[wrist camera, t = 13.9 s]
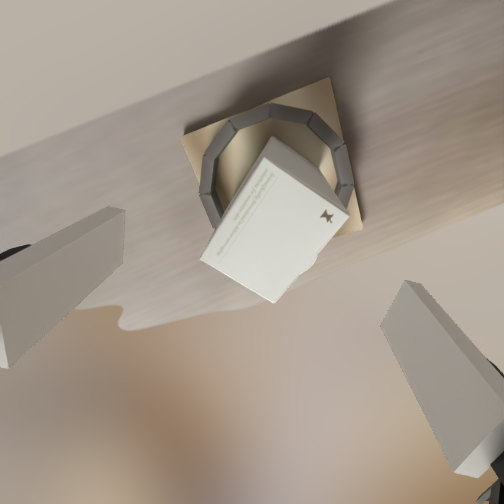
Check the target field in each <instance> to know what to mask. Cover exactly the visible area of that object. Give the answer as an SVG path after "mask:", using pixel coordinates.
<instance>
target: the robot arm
mask: <svg viewBox="0 0 504 504" xmlns="http://www.w3.org/2000/svg"><path fill="white" fill-rule="evenodd" d="M124 229H125V210H123V209H119V208H115V207H110V206H108V207H106V208H104V209H102V210H100V211H98V212H96V213H94V214H92V215H90V216H88V217H86V218H84V219H82V220H80V221H78V222H76V223H74V224H72V225H70V226H69V227H67V228H65V229H63V230H61V231H59V232H57V233H55V234H53V235H51V236H49V237H47V238H45V239H43V240H41V241H39V242H37V243H35V244H33V245H30V244H28V245H24V246H20V247H16V248H12V249H9V250H7V251H5V252H3V253H1V254H0V367H2V368H6V369H9V368H10V367H11V366H12V365H14V364H15V363H16V362H17V361H18V360H19V359H20V358H21V357H22V356H23V355H24V354H25V353H26V352H27V351H29V349H31V348H32V347H33V346H34V345H35V344H36V343H37V342H38V341H39V340H40V339H42V338H43V337H44V336H45V335H46V334H47V333H48V332H49V331H50V330H51V329H52V328H53V327H54V326H55V325H57V324H58V323H59V322H60V321H61V320H62V319H63V318H64V317H65V316H66V315H67V314H69V312H71V311H72V310H73V309H74V308H75V307H76V306H77V305H78V304H79V303H80V302H81V301H83V300H84V299H85V298H86V297H87V296H88V295H89V294H90V293H91V292H92V291H93V290H94V289H95V288H97V287H98V286H99V285H100V284H101V283H102V282H103V281H104V280H105V279H106V278H107V277H108V276H109V275H111V274H112V273H113V272H114V271H115V270H116V269H117V268H118V267H119V266H120V265H121V264H122V263H123V249H124ZM380 327H381V329H382V330H383V333H384V335H385V336H386V339H387V341H388V343H389V345H390V347H391V349H392V351H393V353H394V355H395V357H396V359H397V361H398V363H399V365H400V367H401V368H402V371H403V373H404V374H405V377H406V379H407V381H408V383H409V385H410V387H411V389H412V391H413V393H414V395H415V397H416V399H417V401H418V403H419V405H420V406H421V409H422V411H423V413H424V415H425V417H426V419H427V421H428V423H429V425H430V427H431V428H432V431H433V433H434V435H435V437H436V439H437V441H438V442H439V444H440V446H441V449H442V451H443V452H444V455H445V456H446V459H447V460H448V462H449V464H450V466H451V469H452V471H453V472H454V473H459V474H463V475H467V476H471V477H476V478H479V477H480V476H481V475H482V474H483V473H484V472H485V471H486V470H487V469H488V468H489V467H490V466H491V467H492V468H493V470H494V471H495V473H496V475H497V476H498V478H499V479H498V480H497V481H496V482H495V483H494V484H492V486H490V487H489V488H488V489H487V490H486V491H485V492H484V493H483V494H482V495H481V496H480V497H479V498H478V499H477V501H476V502H477V503H479V504H482V503H483V502H485V501H489V504H504V375H503V373H502V372H501V371H500V370H499V369H498V368H497V367H496V366H495V365H494V364H493V363H492V362H491V361H489V360H488V359H487V358H486V357H485V356H484V355H483V354H482V353H481V352H480V351H479V350H478V348H477V347H476V346H475V345H474V344H473V343H472V342H471V340H470V339H469V338H468V337H467V336H466V335H465V334H464V332H463V331H462V330H461V329H460V328H459V327H458V326H457V324H455V322H454V321H453V320H452V319H451V318H450V317H449V315H448V314H447V313H446V312H445V311H444V310H443V309H442V307H441V306H440V305H439V304H438V303H437V302H436V301H435V299H434V298H433V297H432V296H431V295H430V294H429V293H428V292H427V290H426V289H425V288H424V287H423V286H422V285H421V284H419V283H415V282H411V281H407V280H405V281H404V283H403V285H402V286H401V288H400V290H399V292H398V294H397V296H396V298H395V299H394V301H393V303H392V305H391V307H390V309H389V310H388V313H387V314H386V316H385V318H384V320H383V322H382V323H381V325H380Z"/></svg>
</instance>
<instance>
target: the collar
mask: <svg viewBox="0 0 504 504" xmlns="http://www.w3.org/2000/svg"><path fill="white" fill-rule="evenodd" d="M271 136H275V137H276V138H278V139H279V140H281V141H282V142H284V143H285V144H286V145H288V146H289V147H291V148H292V149H294V150H295V151H296V152H298V153H299V154H301V155H302V156H303V157H305V158H306V159H307V160H309V161H310V162H312V163H313V164H314V165H316V166H317V167H318V168H319V169H320V171H321V172H322V174H323V176H324V177H325V178H326V180H327V182H328V183H329V185H330V186H331V188H332V189H333V191H334V192H335V194H336V195H337V197H338V198H339V200H340V201H341V203H342V204H343V206H344V207H345V208H346V209H347V210H348V211H349V212H350V216H349V218H348V219H347V220H346V222H345V223H344V224H343V225H342V226H341V228H340V229H339V230H338V231H337V232H336V233H335V235H334V236H333V237H337V236H340V235H344V234H347V233H351V232H355V231H358V230H362V229H363V226H362V221H361V217H360V212H359V207H358V203H357V198H356V194H355V189H354V185H353V184H355V183H354V179H353V174H352V169H351V165H350V160H349V156H348V151H347V146H346V144H345V143H344V139H343V134H342V130H341V125H340V121H339V116H338V112H337V107H336V103H335V98H334V93H333V89H332V84H331V80H330V76H329V77H327V78H324V79H322V80H320V81H317V82H315V83H312V84H310V85H307V86H305V87H302V88H300V89H297V90H295V91H292V92H290V93H287V94H285V95H283V96H280V97H278V98H275V99H273V100H270V101H268V102H265V103H263V104H260V105H258V106H255V107H253V108H250V109H248V110H245V111H243V112H241V113H238V114H236V115H233V116H231V117H228V118H226V119H223V120H221V121H218V122H216V123H213V124H211V125H208V126H206V127H204V128H201V129H199V130H196V131H194V132H191V133H189V134H186V135H184V136H181V137H180V139H181V141H182V144H183V146H184V148H185V151H186V153H187V156H188V158H189V160H190V163H191V165H192V167H193V170H194V172H195V175H196V177H197V179H198V182H199V184H200V186H199V193H200V195H199V196H200V199H201V201H202V203H203V206H204V208H205V210H206V213H207V215H208V217H209V220H210V222H211V224H212V227H213V228H215V229H216V227H217V225H218V223H219V222H220V220H221V218H222V216H223V214H224V212H225V211H226V209H227V207H228V205H229V204H230V202H231V200H232V198H233V197H234V195H235V193H236V191H237V190H238V188H239V187H240V185H241V183H242V182H243V180H244V178H245V177H246V175H247V173H248V172H249V170H250V169H251V167H252V165H253V164H254V162H255V161H256V159H257V158H258V156H259V154H260V153H261V151H262V150H263V148H264V147H265V145H266V143H267V142H268V140H269V139H270V137H271ZM333 237H332V238H333Z"/></svg>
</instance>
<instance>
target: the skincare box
mask: <svg viewBox="0 0 504 504" xmlns="http://www.w3.org/2000/svg"><path fill="white" fill-rule="evenodd" d="M349 216H350V212H349V211H348V210H347V209H346V208H345V207H344V206H343V204H342V203H341V201H340V200H339V198H338V197H337V195H336V194H335V192H334V191H333V189H332V188H331V186H330V185H329V183H328V182H327V180H326V178H325V177H324V176H323V174H322V172H321V171H320V169H319V168H318V167H317V166H316V165H314V164H313V163H312V162H310V161H309V160H307V159H306V158H305V157H303V156H302V155H301V154H299V153H298V152H296V151H295V150H294V149H292V148H291V147H289V146H288V145H286V144H285V143H284V142H282V141H281V140H279V139H278V138H276V137H275V136H271V137H270V139H269V140H268V142H267V143H266V145H265V147H264V148H263V150H262V151H261V153H260V154H259V156H258V158H257V159H256V161H255V162H254V164H253V165H252V167H251V169H250V170H249V172H248V173H247V175H246V177H245V178H244V180H243V182H242V183H241V185H240V187H239V188H238V190H237V191H236V193H235V195H234V197H233V198H232V200H231V202H230V204H229V205H228V207H227V209H226V211H225V212H224V214H223V216H222V218H221V220H220V222H219V223H218V225H217V227H216V229H215V231H214V233H213V235H212V236H211V238H210V240H209V242H208V244H207V246H206V248H205V249H204V251H203V253H202V255H201V257H200V260H202V261H204V262H205V263H207V264H209V265H210V266H212V267H214V268H215V269H217V270H219V271H220V272H222V273H224V274H225V275H227V276H229V277H230V278H232V279H233V280H235V281H237V282H238V283H240V284H242V285H243V286H245V287H247V288H248V289H250V290H252V291H253V292H255V293H257V294H258V295H260V296H262V297H263V298H265V299H267V300H268V301H270V302H272V303H276V302H277V300H278V299H279V298H280V297H281V296H282V295H283V293H284V292H285V291H286V290H287V289H288V288H289V287H290V286H291V285H292V283H293V282H294V281H295V280H296V279H297V278H298V277H299V276H300V275H301V273H303V272H305V271H306V270H308V269H309V268H310V267H311V266H312V265H313V264H314V262H315V261H316V258H317V255H318V253H319V252H320V251H321V250H322V249H323V248H324V246H325V245H326V244H327V243H328V242H329V241H330V239H331V238H332V237H333V236H334V235H335V233H336V232H337V231H338V230H339V229H340V228H341V226H342V225H343V224H344V223H345V222H346V220H347V219H348V218H349Z"/></svg>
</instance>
